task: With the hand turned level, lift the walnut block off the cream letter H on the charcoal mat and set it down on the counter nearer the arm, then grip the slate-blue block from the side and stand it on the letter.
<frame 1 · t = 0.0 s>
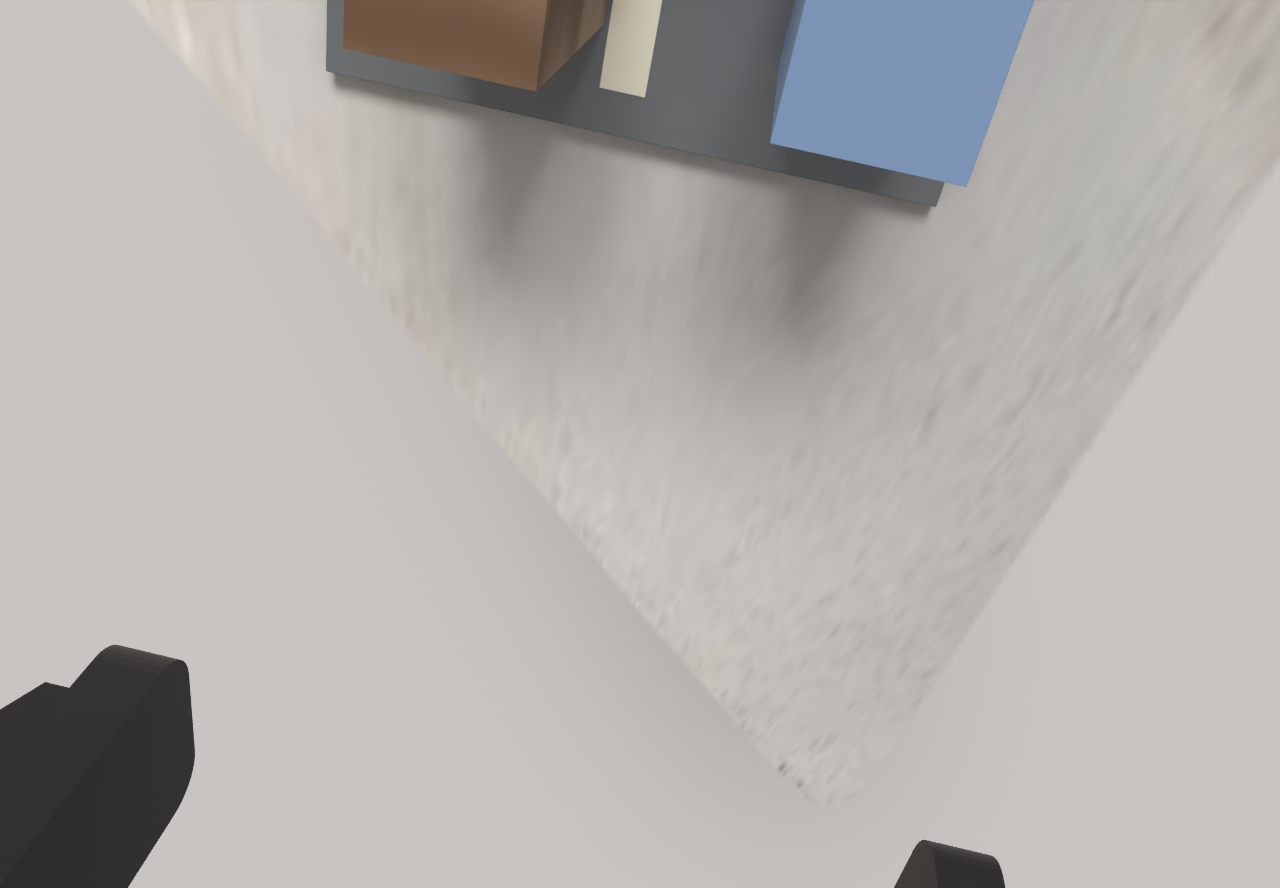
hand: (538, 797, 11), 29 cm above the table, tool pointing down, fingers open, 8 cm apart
blue block: (875, 0, 33), point 1 cm above the table, touching letter mat
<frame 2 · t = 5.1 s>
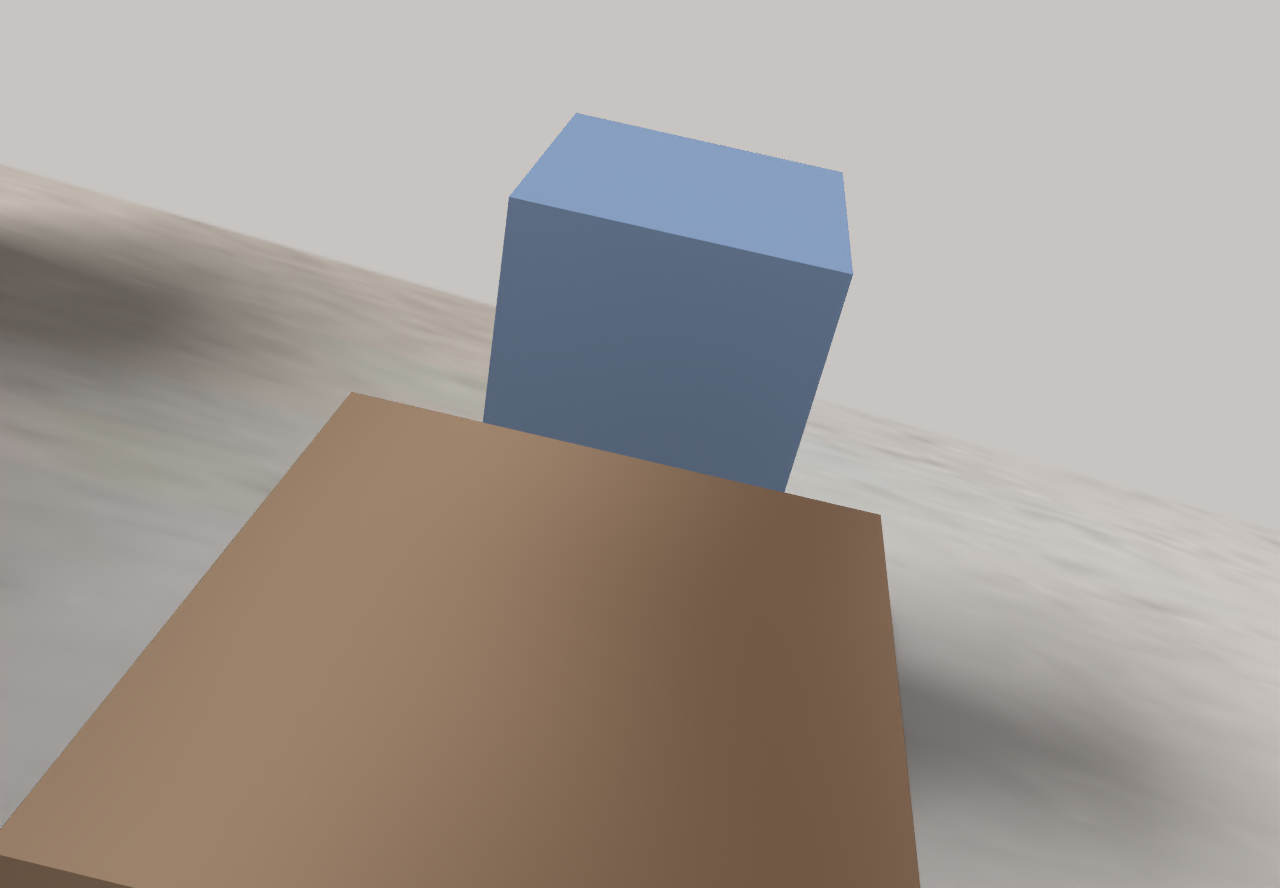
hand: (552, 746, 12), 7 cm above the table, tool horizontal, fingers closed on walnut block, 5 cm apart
blue block: (599, 632, 22), point 1 cm above the table, touching letter mat
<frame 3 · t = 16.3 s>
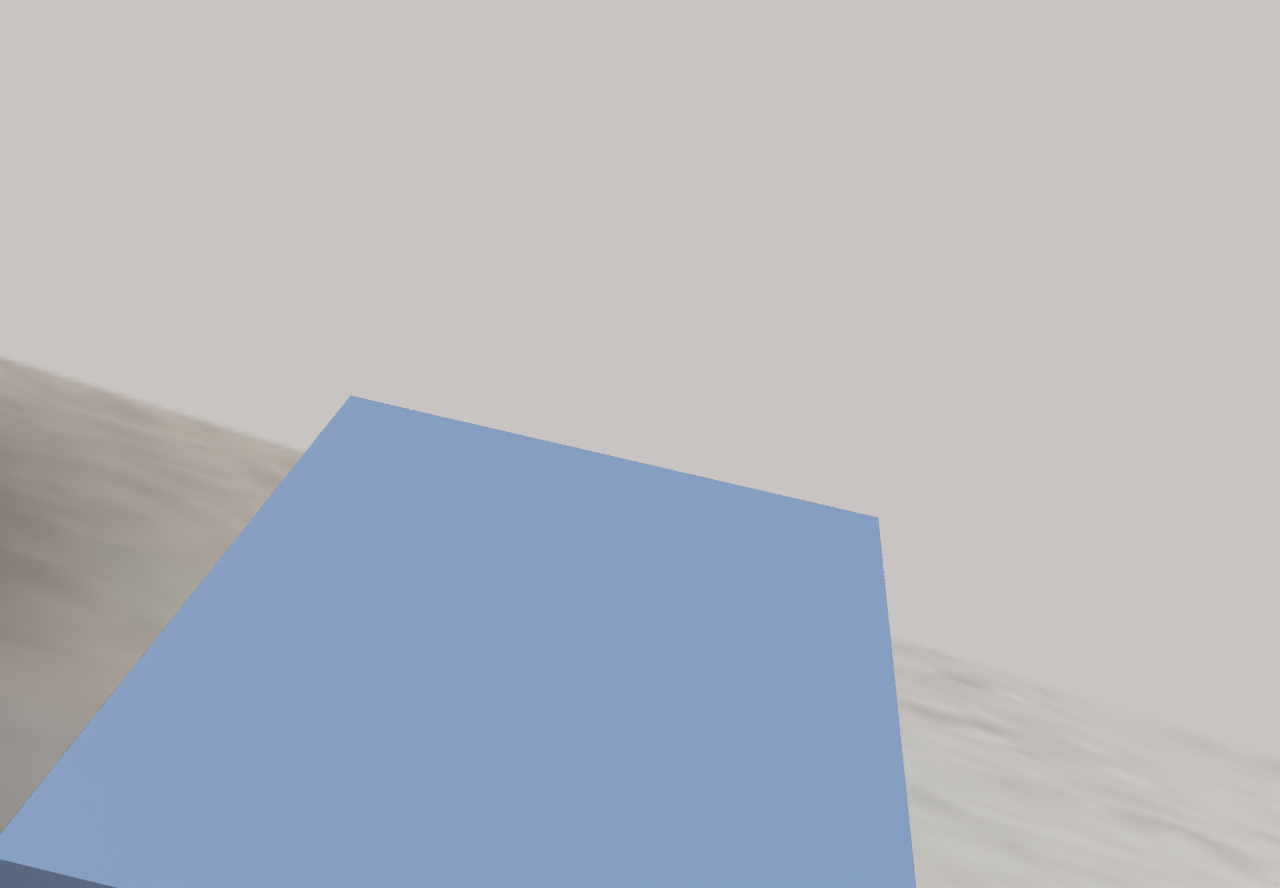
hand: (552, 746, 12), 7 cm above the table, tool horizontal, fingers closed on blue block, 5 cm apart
when the fingers open (8 cm above the table, at t = 20.8 s): blue block drops 1 cm, resting on letter mat.
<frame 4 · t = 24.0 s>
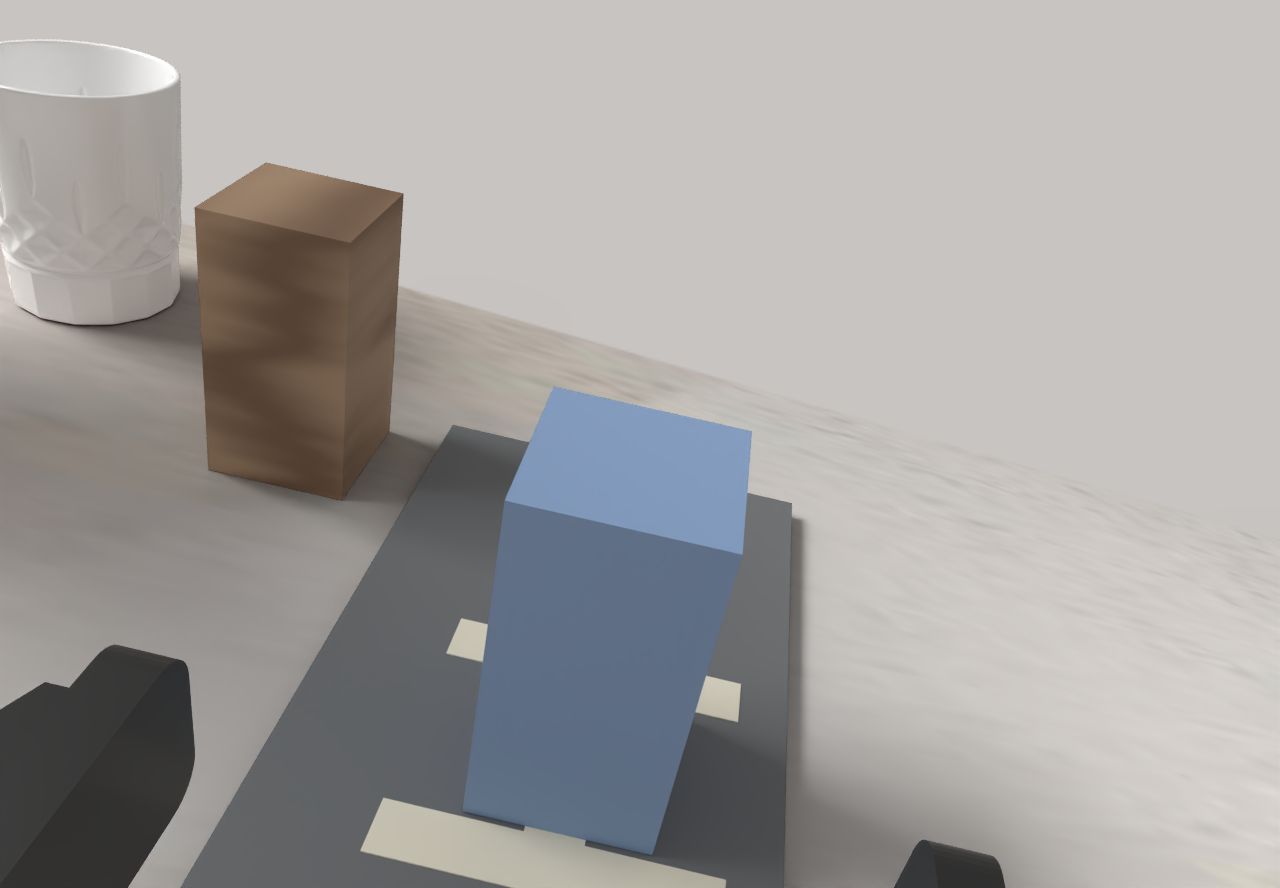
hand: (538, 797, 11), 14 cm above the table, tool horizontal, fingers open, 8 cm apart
letter mat: (564, 664, 32), on the table
blue block: (574, 757, 28), point 1 cm above the table, touching letter mat
white cup: (98, 296, 46), on the table
walnut block: (303, 449, 39), on the table
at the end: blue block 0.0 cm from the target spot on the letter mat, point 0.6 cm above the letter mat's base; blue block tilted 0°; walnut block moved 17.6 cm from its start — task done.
